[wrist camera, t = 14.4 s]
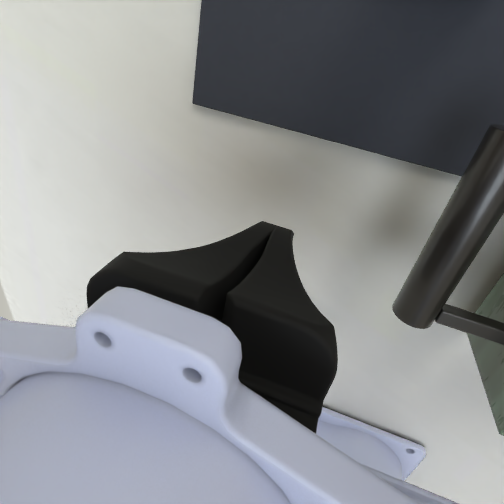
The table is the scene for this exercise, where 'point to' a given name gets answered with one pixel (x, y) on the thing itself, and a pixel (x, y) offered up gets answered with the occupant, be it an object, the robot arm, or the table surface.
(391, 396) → the table surface
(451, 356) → the table surface
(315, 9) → the mat
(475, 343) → the drawer
